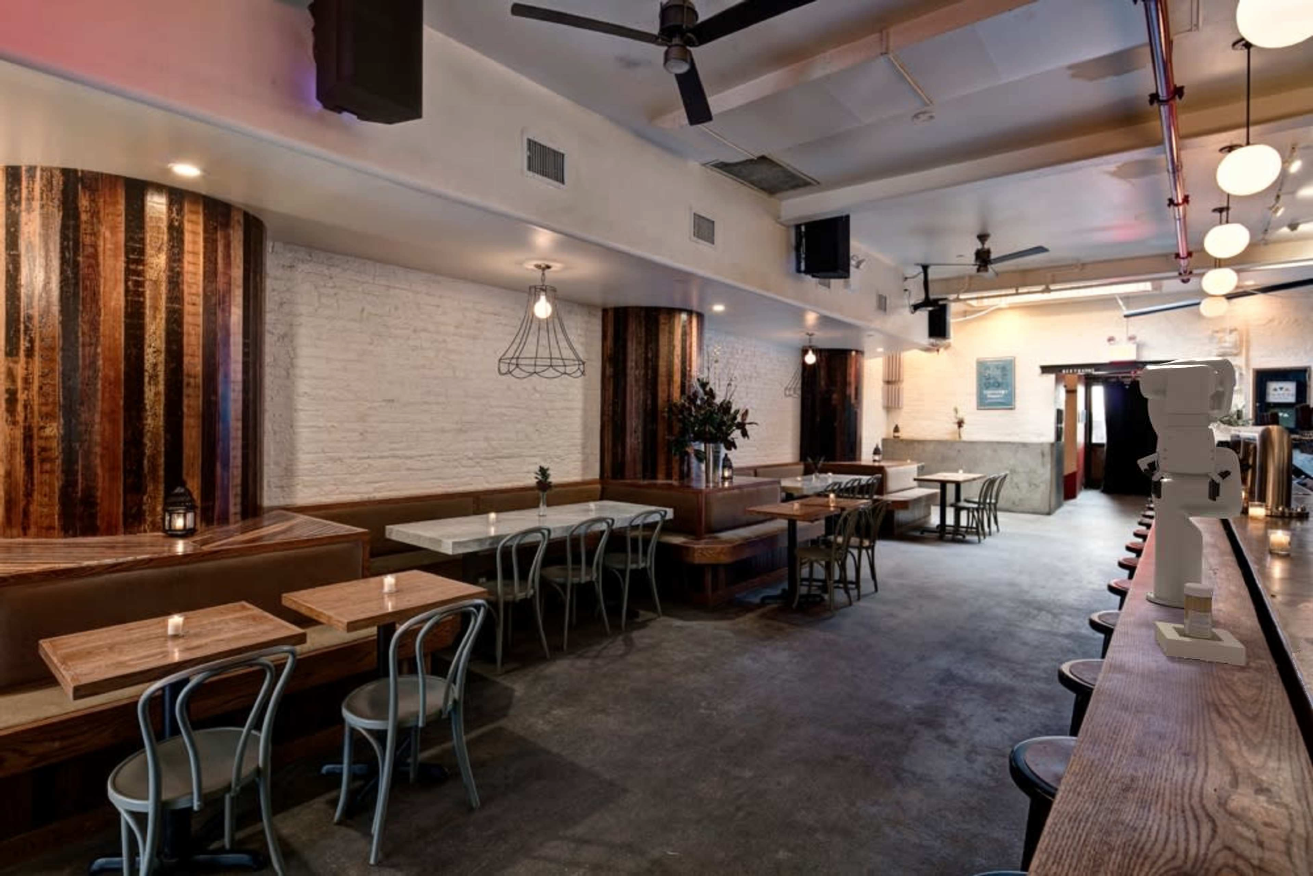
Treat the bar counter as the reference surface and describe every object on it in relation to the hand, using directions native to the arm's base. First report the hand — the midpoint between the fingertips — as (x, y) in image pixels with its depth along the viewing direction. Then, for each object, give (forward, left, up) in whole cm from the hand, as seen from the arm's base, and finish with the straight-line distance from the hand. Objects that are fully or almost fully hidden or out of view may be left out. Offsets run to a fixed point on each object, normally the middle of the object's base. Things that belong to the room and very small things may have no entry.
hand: (1184, 499), depth 147 cm
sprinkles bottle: (+16, -1, -29) cm, 33 cm away
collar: (+16, -1, -29) cm, 33 cm away
